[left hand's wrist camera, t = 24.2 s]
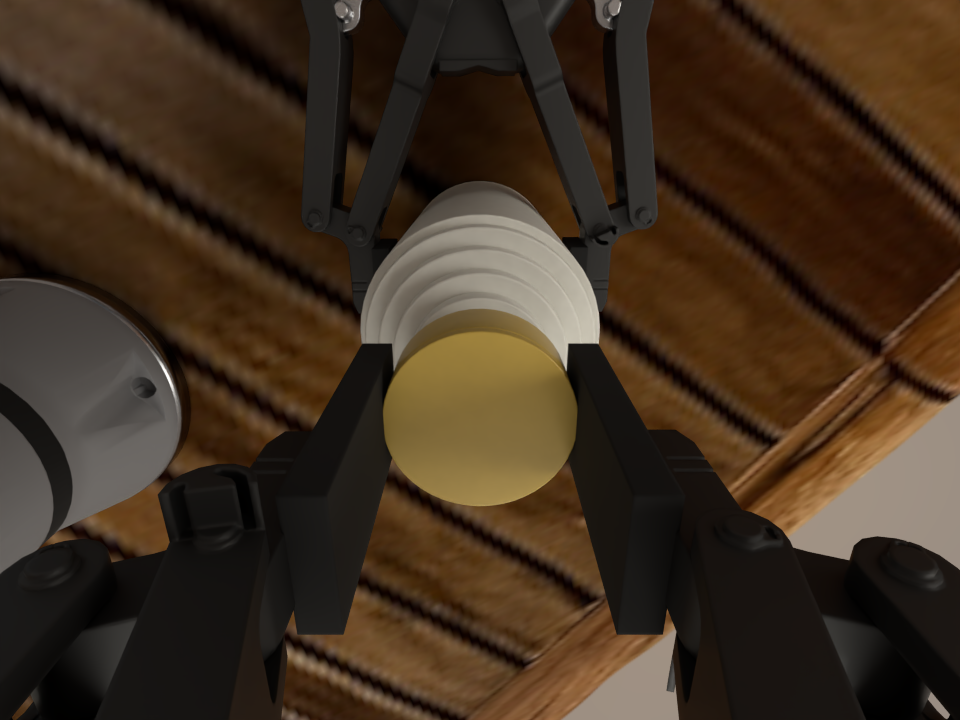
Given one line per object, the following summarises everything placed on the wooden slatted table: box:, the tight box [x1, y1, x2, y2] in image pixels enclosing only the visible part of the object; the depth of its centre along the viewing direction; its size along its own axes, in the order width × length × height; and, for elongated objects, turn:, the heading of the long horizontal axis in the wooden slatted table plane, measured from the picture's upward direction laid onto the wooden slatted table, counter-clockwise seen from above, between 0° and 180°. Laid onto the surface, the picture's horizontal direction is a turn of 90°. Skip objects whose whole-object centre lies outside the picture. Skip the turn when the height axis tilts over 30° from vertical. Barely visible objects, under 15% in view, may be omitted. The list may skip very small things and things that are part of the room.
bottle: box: [361, 181, 600, 371], centre depth 23 cm, size 8×8×20 cm
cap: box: [383, 309, 578, 506], centre depth 14 cm, size 5×5×2 cm
